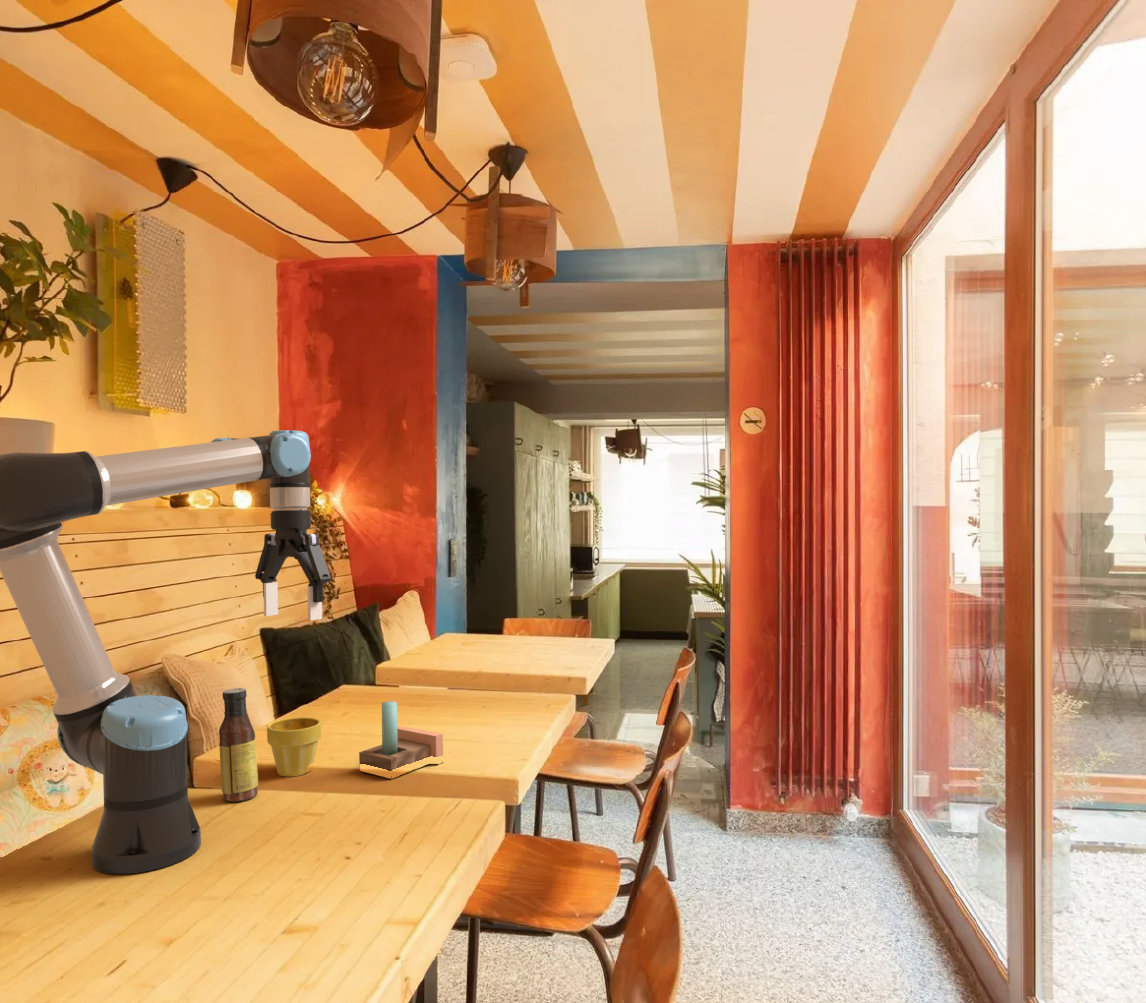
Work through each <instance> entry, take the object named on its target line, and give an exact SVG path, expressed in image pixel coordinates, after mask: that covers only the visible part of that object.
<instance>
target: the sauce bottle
mask: <svg viewBox="0 0 1146 1003" xmlns="http://www.w3.org/2000/svg"><path fill="white" fill-rule="evenodd" d="M247 695H248V694H247V689H246V688H243V687H238V688H237V687H236V688H230V689H226V690H223V691H222V700H223V702H224V704H223V705H224V713H223V714H224V718H223V720H222V723H221V724H220V728H219V729H218V730H219V731H218V733H219V734H218V735H219V744H218V746H219V762H220V763H219V765H220V777H221V779H220V782H221V783H220V784H221V792H222V794H223V795H222V796H223V800H224V801H225V802H231V803H236V802H244V801H245V802H246V801H248V800H251V799H253V798H255V797H256V796H257V795H258V786H259V775H258V774H259V773H258V772H259V771H258V759H257V758H258V757H257V745H256V744H257V742H256V733H255V731H254V727H253V725H252V723H251V719H250V717H249V714H248V710H247V700H246V699H247Z"/></svg>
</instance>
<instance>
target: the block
mask: <svg viewBox="0 0 1146 1003" xmlns="http://www.w3.org/2000/svg"><path fill="white" fill-rule="evenodd" d="M397 752H398V753H396V754H393V755H390V756H389V755H384V754H382V744H380V745H376V746H374V747H370V748H368V749H365V750H362V751H360V752H358V754H359V755H358V756H359V760H358V764H366V765H370V766H374V767H378V768H382V769H386V770H388V771H392V770H393V769H396V768H399V767H401V766H404V765H406V764H411V763H413V762H416V761H419V760H422V759H424V758H427V757H430V756H431V745H428V744H424V743H419V742H414V741H409V740H404V739H397ZM388 780H393V779H392V776H391V778H389V779H388Z"/></svg>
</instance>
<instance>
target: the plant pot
mask: <svg viewBox="0 0 1146 1003" xmlns="http://www.w3.org/2000/svg"><path fill="white" fill-rule="evenodd" d="M266 727H267V728H266V737H267V739H266V740H267V743H268V745H269V746H271V750H272V755H273V760H274V764H275V768H276V772H277V774H278V775H279V776H281V777H298V776H299V777H300V776H304V775H306V774H305V772H306V769H307V766H309V765H310V764H312V763H313V764H314V761H315V756H316V750H317V746H318V743H319V740H320V739H322V721H321V720H320V719H319V718H316V717H311V716H296V717H287V718H282V719H278V720H275V721H272V722H270V723H269V724H268V725H267V726H266Z"/></svg>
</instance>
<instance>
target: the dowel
mask: <svg viewBox="0 0 1146 1003" xmlns="http://www.w3.org/2000/svg"><path fill="white" fill-rule="evenodd" d="M397 727H398V702H397V701H391V700H389V701H384V702H382V703H381V745H382V754H384V755H389V756H390V755H393V754H396V753H398V752H397Z"/></svg>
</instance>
